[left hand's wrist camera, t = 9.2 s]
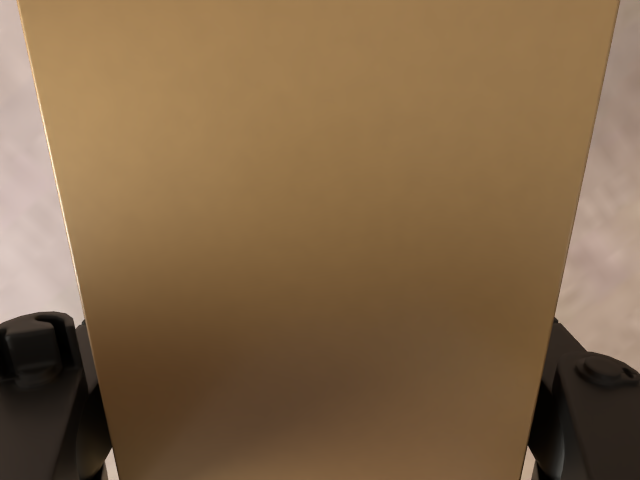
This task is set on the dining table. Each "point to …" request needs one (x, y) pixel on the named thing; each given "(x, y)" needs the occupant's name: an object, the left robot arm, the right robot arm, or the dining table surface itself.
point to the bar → (319, 223)
